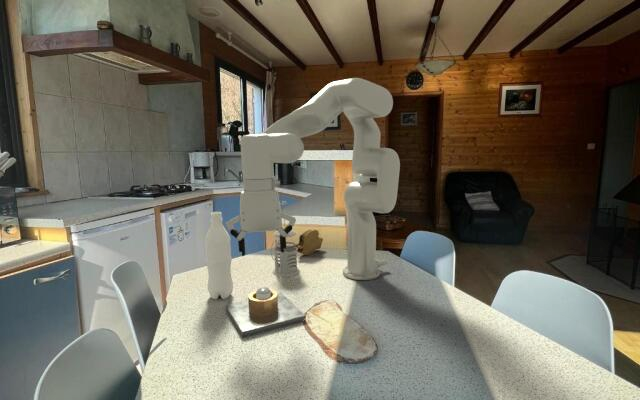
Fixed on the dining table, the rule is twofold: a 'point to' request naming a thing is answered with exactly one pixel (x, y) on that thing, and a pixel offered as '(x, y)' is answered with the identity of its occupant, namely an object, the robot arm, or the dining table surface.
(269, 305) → the copper ring
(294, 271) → the french press
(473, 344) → the dining table surface
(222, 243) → the water bottle
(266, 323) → the block
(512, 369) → the dining table surface
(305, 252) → the wooden carving
